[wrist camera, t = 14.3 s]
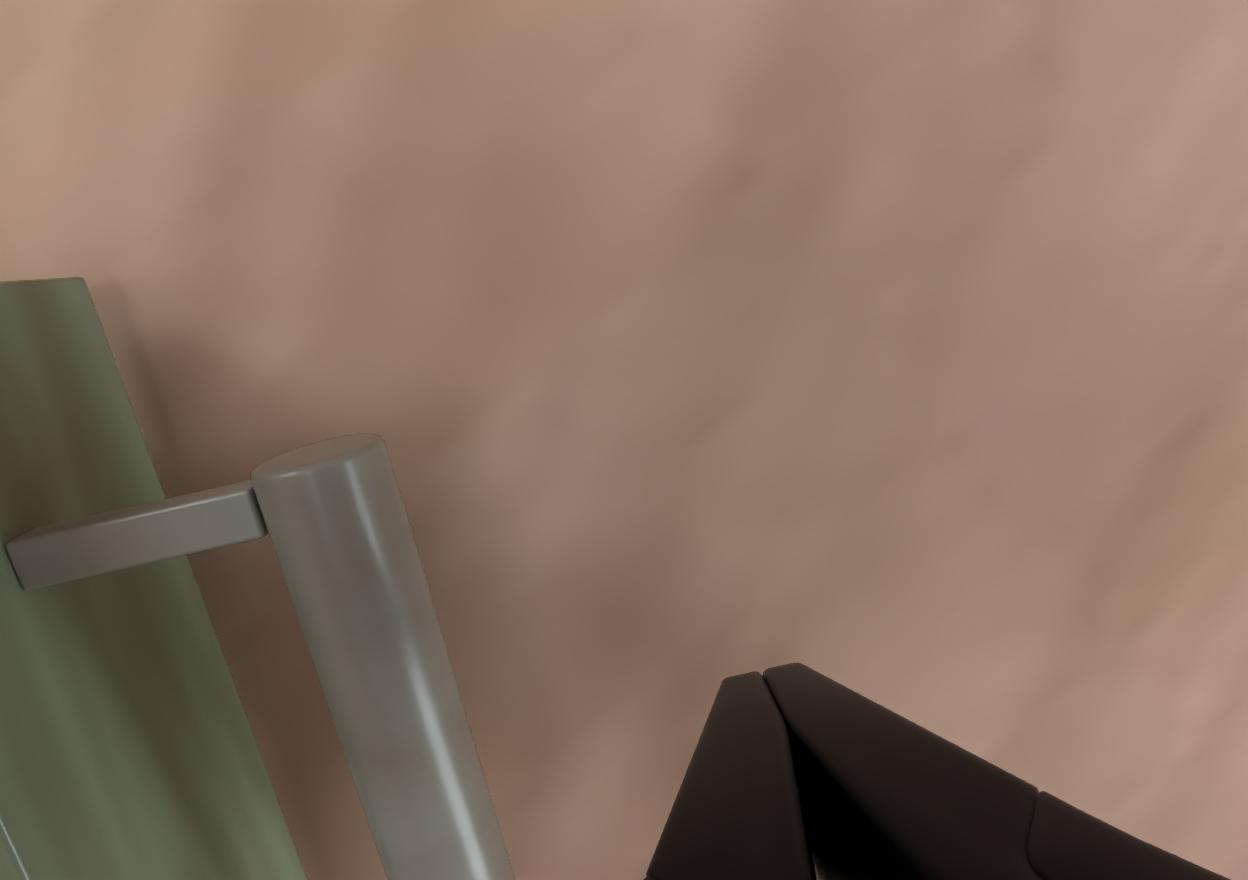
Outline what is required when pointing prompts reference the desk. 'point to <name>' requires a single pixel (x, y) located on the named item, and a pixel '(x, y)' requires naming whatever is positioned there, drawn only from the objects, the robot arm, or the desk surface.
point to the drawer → (200, 640)
